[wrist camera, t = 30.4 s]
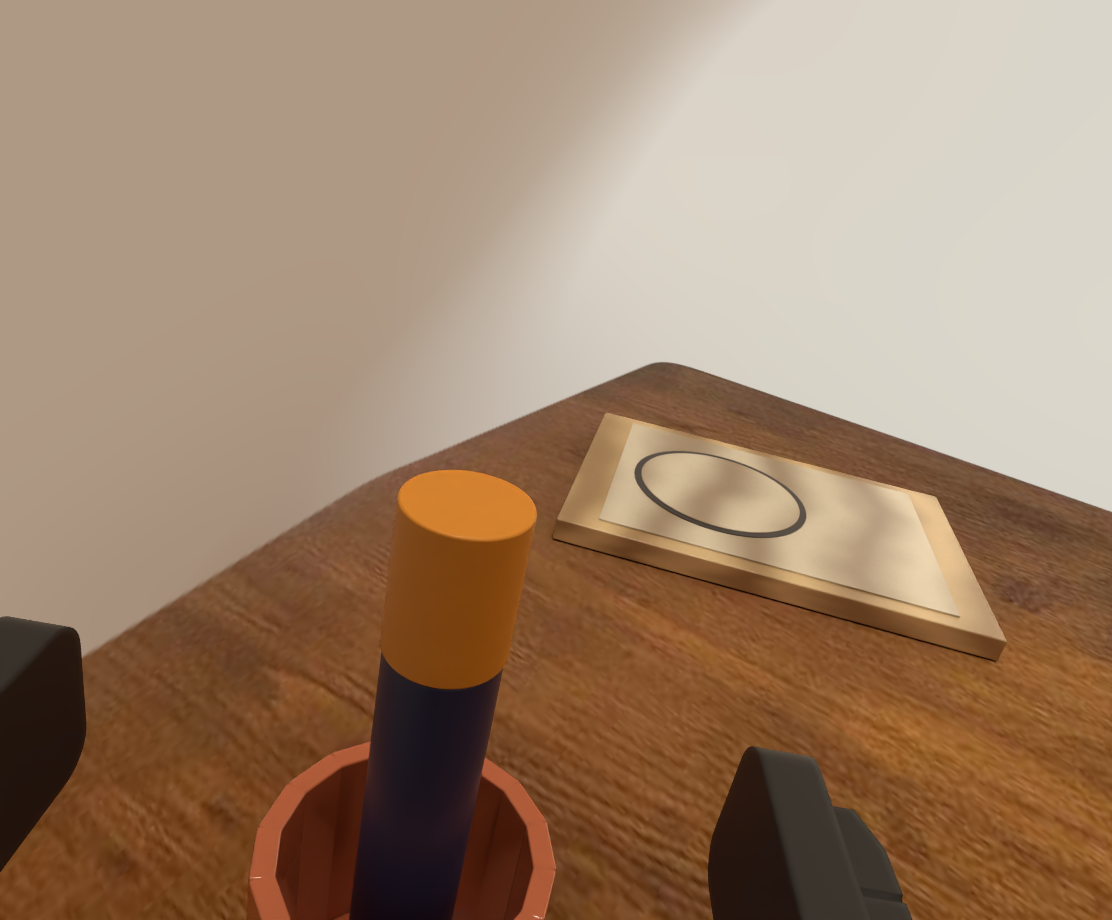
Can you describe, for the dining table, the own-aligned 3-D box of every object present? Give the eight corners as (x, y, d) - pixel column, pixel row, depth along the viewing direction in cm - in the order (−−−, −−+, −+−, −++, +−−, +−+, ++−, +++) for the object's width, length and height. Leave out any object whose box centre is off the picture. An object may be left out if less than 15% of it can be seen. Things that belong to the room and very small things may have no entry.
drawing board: (552, 538, 41) (557, 514, 41) (601, 428, 56) (606, 409, 55) (997, 662, 39) (1009, 638, 38) (929, 512, 53) (937, 493, 53)
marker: (316, 1049, 18) (374, 514, 13) (359, 954, 21) (426, 456, 15) (413, 1084, 18) (517, 554, 12) (447, 985, 20) (550, 490, 14)
